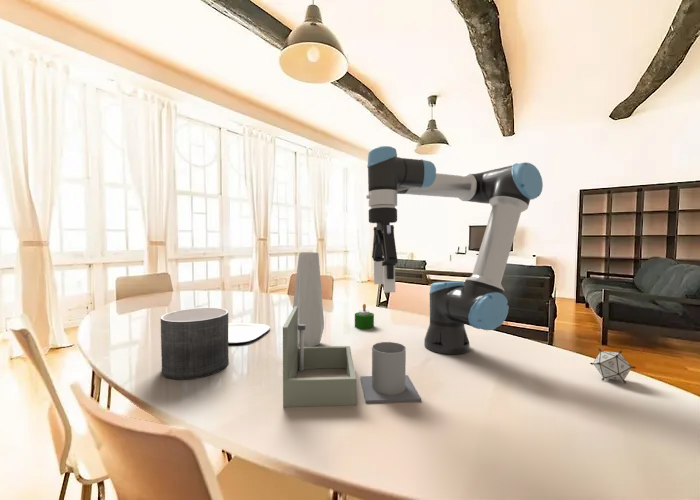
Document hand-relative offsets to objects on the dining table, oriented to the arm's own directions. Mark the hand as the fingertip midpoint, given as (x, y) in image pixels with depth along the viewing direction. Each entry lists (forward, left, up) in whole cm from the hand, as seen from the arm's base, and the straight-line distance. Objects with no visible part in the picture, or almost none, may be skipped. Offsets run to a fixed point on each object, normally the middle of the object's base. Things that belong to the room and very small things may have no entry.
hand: (383, 287), depth 85 cm
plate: (+53, -43, -25) cm, 73 cm away
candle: (0, -52, -25) cm, 58 cm away
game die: (-61, +4, -25) cm, 66 cm away
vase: (+22, -30, -25) cm, 45 cm away
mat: (0, +6, -25) cm, 25 cm away
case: (+17, +2, -25) cm, 30 cm away
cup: (0, +6, -24) cm, 25 cm away
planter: (+54, -11, -25) cm, 60 cm away
